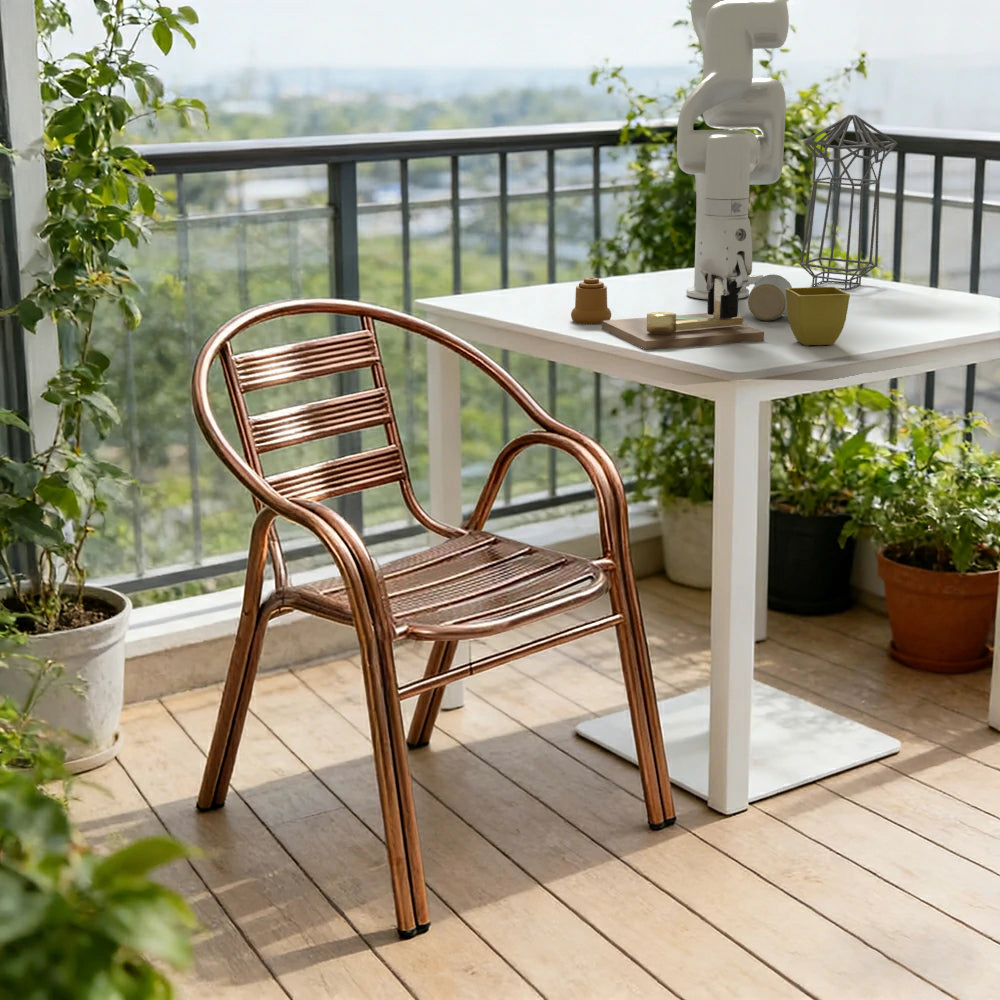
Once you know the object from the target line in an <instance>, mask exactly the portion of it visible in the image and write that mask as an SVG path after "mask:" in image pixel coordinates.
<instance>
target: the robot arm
mask: <svg viewBox="0 0 1000 1000" xmlns="http://www.w3.org/2000/svg"><path fill="white" fill-rule="evenodd" d="M787 3H788V2H787V0H691V3H690V16H691V21H692V26H693V28H694V32H695V34H696V37H697V39H698V41H699V45H700V47H701V48H700V49H701V52H702V57H703V58H702V59H703V61H702V62H703V66H702V67H703V69H702V71H703V72H702V81H701V82H700V83H698V84H697V85H696V86H695V87H694V89H692V91H691V92H690V93H689V95H688V96H687V97H686V99H685V101H684V102H683V104H682V107H681V109H680V110H679V115H678V121H677V133H676V134H677V136H676V137H677V138H676V139H677V140H676V141H677V142H676V159H677V164H678V167H679V169H680V170H681V171H682V172H684V173H685V174H688V175H694V178H695V179H694V180H695V191H696V193H695V194H696V196H695V197H696V200H695V201H696V210H695V212H696V214H695V243H694V245H695V246H694V247H695V249H694V277H693V278H694V281H693V284H694V285H693V286H690V287H688V288H687V289H686V290H685V291H686V296H688V297H690V298H695V299H700V300H707V313H708V314H709V315H713V312H714V281H715V277H723V294H724V295H721V306H720V317H721V318H723V319H724V318H734V317H737V316H739V315H738V313H739V312H738V311H739V309H738V308H739V299H744V298H746V297H747V298H748V297H749V294H750V290H749V289H748V288H747V287H750V285H754V286H755V284H756V283H757V281H758V280H759V279H761V278H762V277H764V275H763V274H755V275H752V272H753V238H752V237H753V236H752V235H753V234H752V227H751V226H752V225H751V221H750V218H749V204H750V203H749V201H750V200H749V199H750V198H749V197H750V186H751V185H753V186H754V185H758V186H759V185H760V186H761V185H771V184H775V183H776V182H777V181H779V179H780V178H781V176H782V172H783V167H784V154H785V153H784V151H785V150H784V149H785V146H784V145H785V132H786V131H785V129H786V108H787V107H786V103H787V102H786V101H787V100H786V91H785V88H784V86H783V84H782V82H781V81H780V80H778V79H776V78H771V77H753V76H754V72H753V71H754V67H753V66H754V60H753V59H754V58H753V57H754V50H755V49H756V50H760V49H762V50H763V49H764V50H765V49H766V50H767V49H779V48H781V47H783V45H785V42H786V41H787V37H788V33H789V24H790V23H789V21H790V20H789V17H790V15H789V8H788V4H787ZM701 115H702V117H703V120H704V123H705V124H706V125H707V126H708V127H709V128H713V129H698V130H697V129H696V130H695V129H694V124H695V122H696V120H697V119H698V117H699V116H701ZM749 130H758V131H759V132H760V133H761V134H759V135H758V134H755V133H753V132H752V131H749ZM729 280H733V281H732V282H731V283H730V285H729Z"/></svg>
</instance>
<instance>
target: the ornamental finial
mask: <svg viewBox="0 0 1000 1000" xmlns="http://www.w3.org/2000/svg"><path fill="white" fill-rule="evenodd" d="M574 299H575V301H574V303H575V304H574V307H573V308H572V310H571V313H570V318H571V320H572V321H573V322H574V323H575V322H576V324H579V323H580V325H602V321H606V320H611V318H612V311H611V309H610V308H609V307H608V287H607V285H605V284H604V282H602V281H600V279H599V278H598V277H585V278H583V281H580V282H579V283H578V285H577V286H575V298H574Z"/></svg>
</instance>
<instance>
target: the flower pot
mask: <svg viewBox="0 0 1000 1000" xmlns="http://www.w3.org/2000/svg"><path fill="white" fill-rule="evenodd" d="M838 288H839V287H836V286H823V287H811V286H810V287H809V286H808V287H806V286H805V287H792V288H786V301H787V314H788V317H787V319H788V323H789V327H790V329H791V331H792V333H793V335H794V338H795V340H796V341H797V342H799V343H800V344H802V345H804V346H806V347H807V346H808V347H810V346H825V345H826V346H831V345H834V344H835V343H836V342H837V340H838V339H839V337H840V336H841V334H842V332H843V329H844V328H845V324H846V319H847V314H848V308H849V304H850V297H851V294H850V293H849V292H847V291H845V290H840V289H838Z"/></svg>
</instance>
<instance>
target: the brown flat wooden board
mask: <svg viewBox="0 0 1000 1000" xmlns="http://www.w3.org/2000/svg"><path fill="white" fill-rule="evenodd" d="M707 318H713V315H709V314H708V312H706V313H692V314H678V315H677V314H676V321H685V320H696V319H707ZM601 329H602V330H603V331H605V332H607V333H609V334H611V335H614V336H615V335H616V337H617V338H620V339H622V340H624V341H626V340H627V341H626V342H628V341H629V342H628V343H630V342H631V343H630V344H632V343H633V344H632V345H634V344H635V345H634V346H636V345H637V346H636V347H638V346H640V347H642V348H641V349H643V348H644V349H643V350H645V349H651V350H656V349H655V348H664V349H673V348H684V347H685V348H686V347H687V348H688V347H698V346H701V347H702V346H711V345H724V344H736V343H738V344H739V343H750V342H761V341H762V342H763V341H764V340H765V332H764V331H763V330H760V329H757V328H755V327H752V326H749V325H747V324H744V323H743V324H742V325H732V326H721V327H710V328H699V329H689V330H678V331H676V332H673V333H665V334H658V333H650V332H647V317H638V318H635V317H634V318H622V319H610V320H606V321H602V324H601ZM640 347H639V348H640ZM653 348H654V349H653Z"/></svg>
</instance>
